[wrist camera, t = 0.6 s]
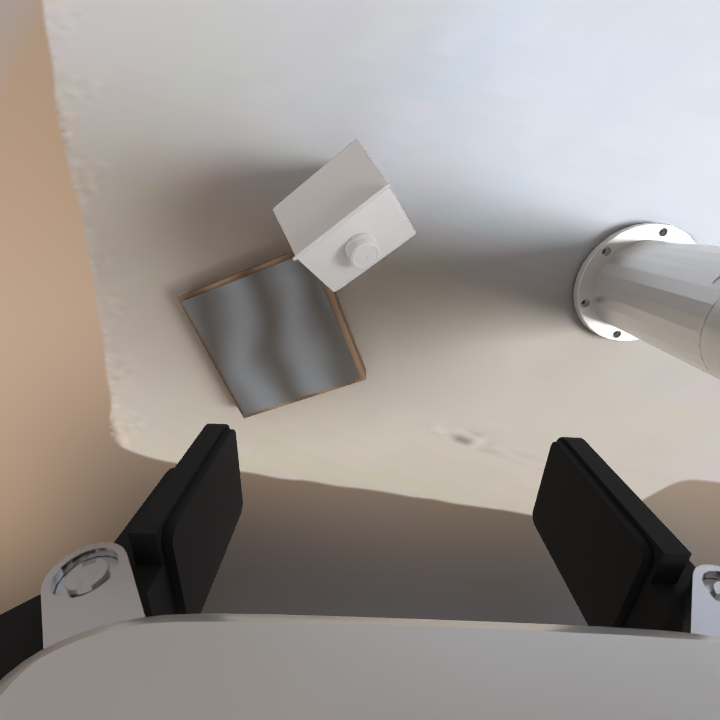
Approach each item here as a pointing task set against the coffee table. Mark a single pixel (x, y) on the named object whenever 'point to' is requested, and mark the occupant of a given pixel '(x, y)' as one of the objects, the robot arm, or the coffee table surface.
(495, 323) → the coffee table surface
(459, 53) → the coffee table surface
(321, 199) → the milk carton
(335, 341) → the framed mirror
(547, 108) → the coffee table surface
